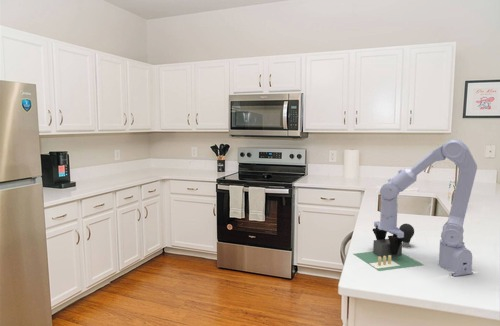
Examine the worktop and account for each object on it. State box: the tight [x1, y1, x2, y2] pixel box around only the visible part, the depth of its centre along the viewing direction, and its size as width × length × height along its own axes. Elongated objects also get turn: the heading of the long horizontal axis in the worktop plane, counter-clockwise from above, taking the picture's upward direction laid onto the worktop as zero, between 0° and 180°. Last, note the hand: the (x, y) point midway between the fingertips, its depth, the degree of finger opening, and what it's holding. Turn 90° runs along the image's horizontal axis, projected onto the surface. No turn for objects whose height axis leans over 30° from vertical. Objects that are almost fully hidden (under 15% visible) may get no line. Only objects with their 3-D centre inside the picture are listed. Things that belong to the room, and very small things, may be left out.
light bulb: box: [398, 223, 415, 248], centre depth 138 cm, size 6×6×10 cm
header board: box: [353, 251, 424, 272], centre depth 124 cm, size 16×18×4 cm
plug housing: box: [372, 238, 403, 258], centre depth 129 cm, size 5×9×5 cm, turn 105°
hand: (387, 250), depth 129 cm, fingers open, 7 cm apart
